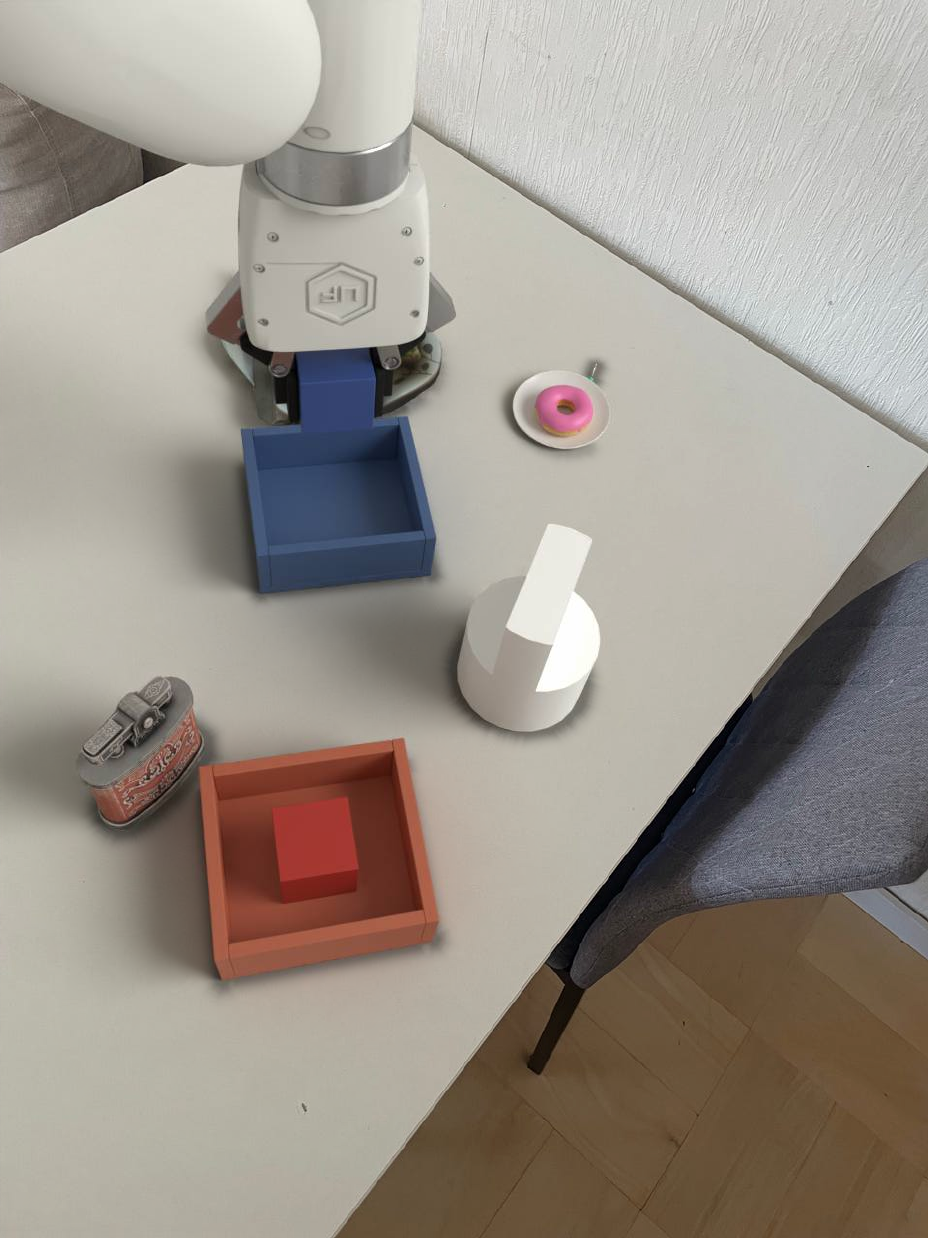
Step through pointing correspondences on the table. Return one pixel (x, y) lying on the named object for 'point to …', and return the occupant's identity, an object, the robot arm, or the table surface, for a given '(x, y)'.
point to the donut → (561, 409)
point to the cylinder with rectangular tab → (531, 640)
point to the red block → (315, 850)
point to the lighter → (142, 752)
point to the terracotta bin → (248, 868)
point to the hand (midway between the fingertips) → (332, 401)
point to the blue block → (336, 390)
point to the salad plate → (407, 384)
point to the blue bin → (337, 506)
